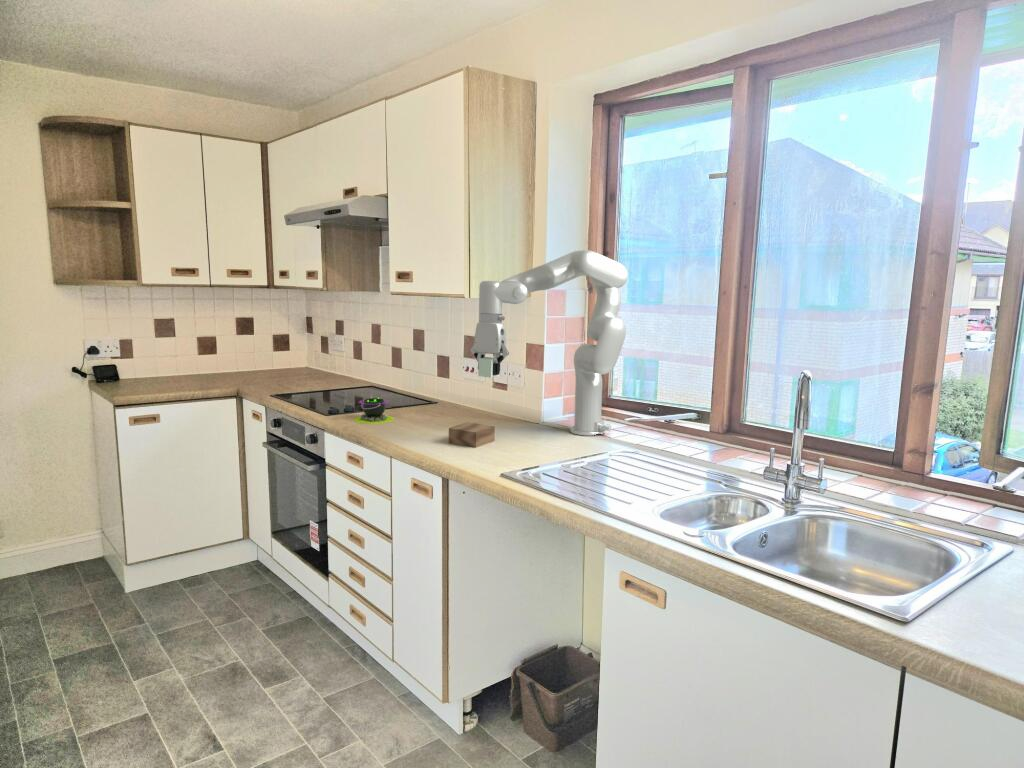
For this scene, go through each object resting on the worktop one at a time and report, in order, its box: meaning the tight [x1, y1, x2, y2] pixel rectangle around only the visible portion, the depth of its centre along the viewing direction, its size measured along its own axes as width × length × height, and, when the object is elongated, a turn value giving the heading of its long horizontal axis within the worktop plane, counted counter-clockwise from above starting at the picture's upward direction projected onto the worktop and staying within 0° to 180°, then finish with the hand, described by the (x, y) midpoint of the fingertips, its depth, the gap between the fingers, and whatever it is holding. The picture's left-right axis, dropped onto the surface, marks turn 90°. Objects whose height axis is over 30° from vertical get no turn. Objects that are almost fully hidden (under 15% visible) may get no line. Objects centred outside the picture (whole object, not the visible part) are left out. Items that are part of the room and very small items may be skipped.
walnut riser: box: [448, 421, 496, 448], centre depth 223 cm, size 11×11×5 cm
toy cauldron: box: [353, 391, 395, 425], centre depth 255 cm, size 15×15×11 cm
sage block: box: [477, 356, 500, 379], centre depth 220 cm, size 5×5×6 cm
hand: (488, 373), depth 221 cm, fingers closed on sage block, 5 cm apart
